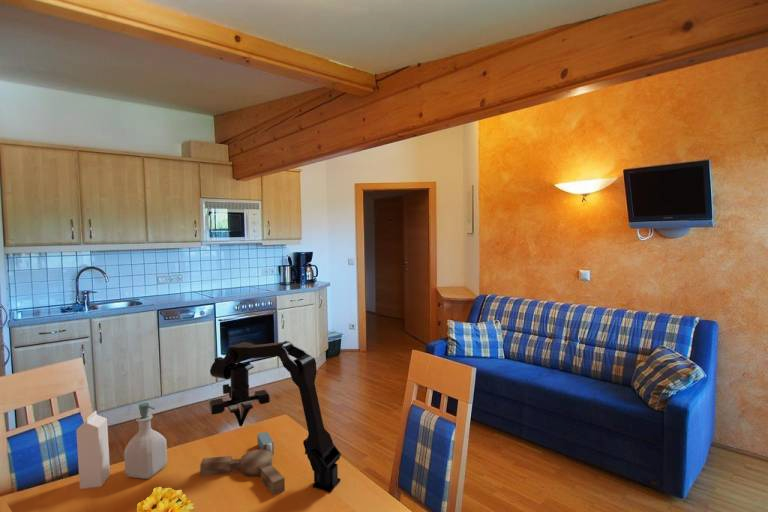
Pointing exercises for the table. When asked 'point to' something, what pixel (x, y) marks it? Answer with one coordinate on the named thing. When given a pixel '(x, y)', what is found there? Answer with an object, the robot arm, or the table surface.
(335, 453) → the robot arm
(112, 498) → the table surface
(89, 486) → the milk
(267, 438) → the grey long block
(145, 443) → the soap bottle
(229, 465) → the wooden three-arm spinner
